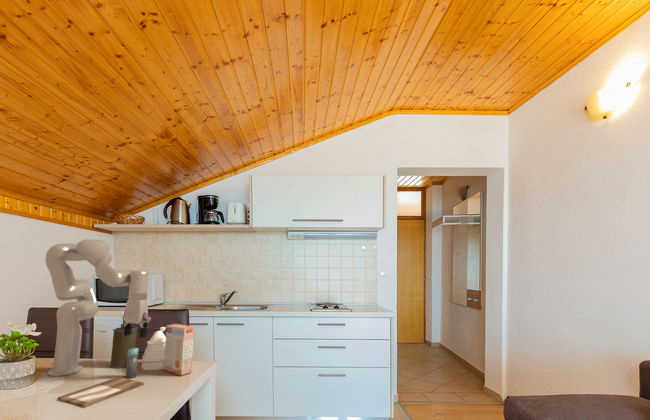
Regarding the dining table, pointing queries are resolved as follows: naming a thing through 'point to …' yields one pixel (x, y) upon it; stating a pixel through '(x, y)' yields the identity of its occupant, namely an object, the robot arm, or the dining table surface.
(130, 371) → the marker
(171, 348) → the cracker box
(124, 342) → the canister
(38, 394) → the dining table surface
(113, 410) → the dining table surface
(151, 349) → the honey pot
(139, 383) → the writing board
